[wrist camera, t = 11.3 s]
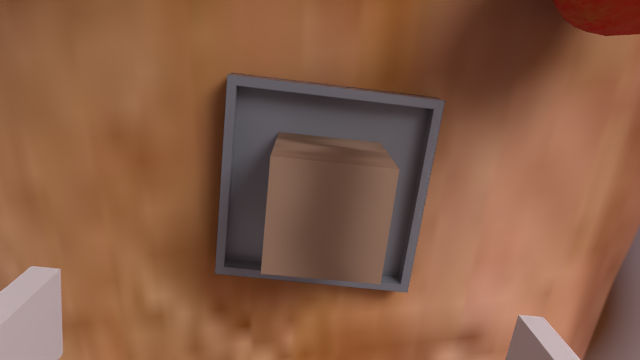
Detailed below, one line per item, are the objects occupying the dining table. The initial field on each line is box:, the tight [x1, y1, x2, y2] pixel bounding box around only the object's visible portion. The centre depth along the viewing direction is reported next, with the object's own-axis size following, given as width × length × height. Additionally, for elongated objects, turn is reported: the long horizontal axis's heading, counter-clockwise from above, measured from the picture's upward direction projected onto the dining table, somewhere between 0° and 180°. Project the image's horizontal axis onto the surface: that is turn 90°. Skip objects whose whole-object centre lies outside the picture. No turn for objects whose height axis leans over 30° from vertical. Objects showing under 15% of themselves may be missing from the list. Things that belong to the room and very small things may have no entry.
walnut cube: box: [261, 132, 400, 284], centre depth 29 cm, size 7×7×7 cm
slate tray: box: [215, 73, 445, 292], centre depth 32 cm, size 14×14×2 cm
